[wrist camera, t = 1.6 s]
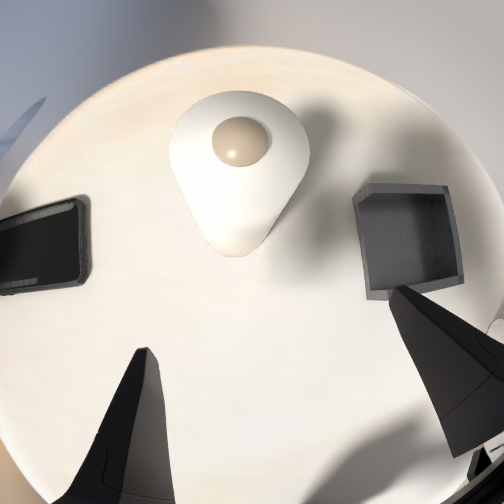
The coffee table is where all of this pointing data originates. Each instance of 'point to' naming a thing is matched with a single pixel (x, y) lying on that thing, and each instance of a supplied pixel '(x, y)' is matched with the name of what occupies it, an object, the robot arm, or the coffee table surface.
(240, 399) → the coffee table surface
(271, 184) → the paper roll
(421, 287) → the tray
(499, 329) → the cosmetic bottle
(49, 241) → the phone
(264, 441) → the coffee table surface
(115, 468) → the robot arm
